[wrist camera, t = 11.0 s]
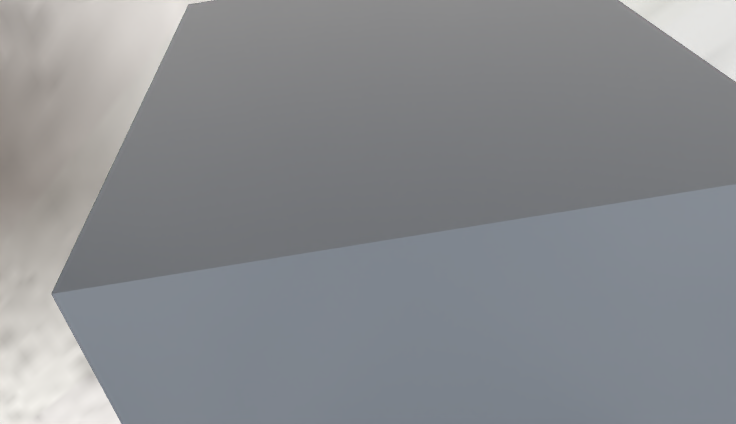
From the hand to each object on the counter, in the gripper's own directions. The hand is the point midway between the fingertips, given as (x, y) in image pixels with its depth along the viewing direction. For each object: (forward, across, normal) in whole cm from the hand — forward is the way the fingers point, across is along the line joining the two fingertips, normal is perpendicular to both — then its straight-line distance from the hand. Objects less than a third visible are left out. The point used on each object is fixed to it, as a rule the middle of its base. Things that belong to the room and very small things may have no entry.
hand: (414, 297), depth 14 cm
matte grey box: (+3, 0, 0) cm, 3 cm away
